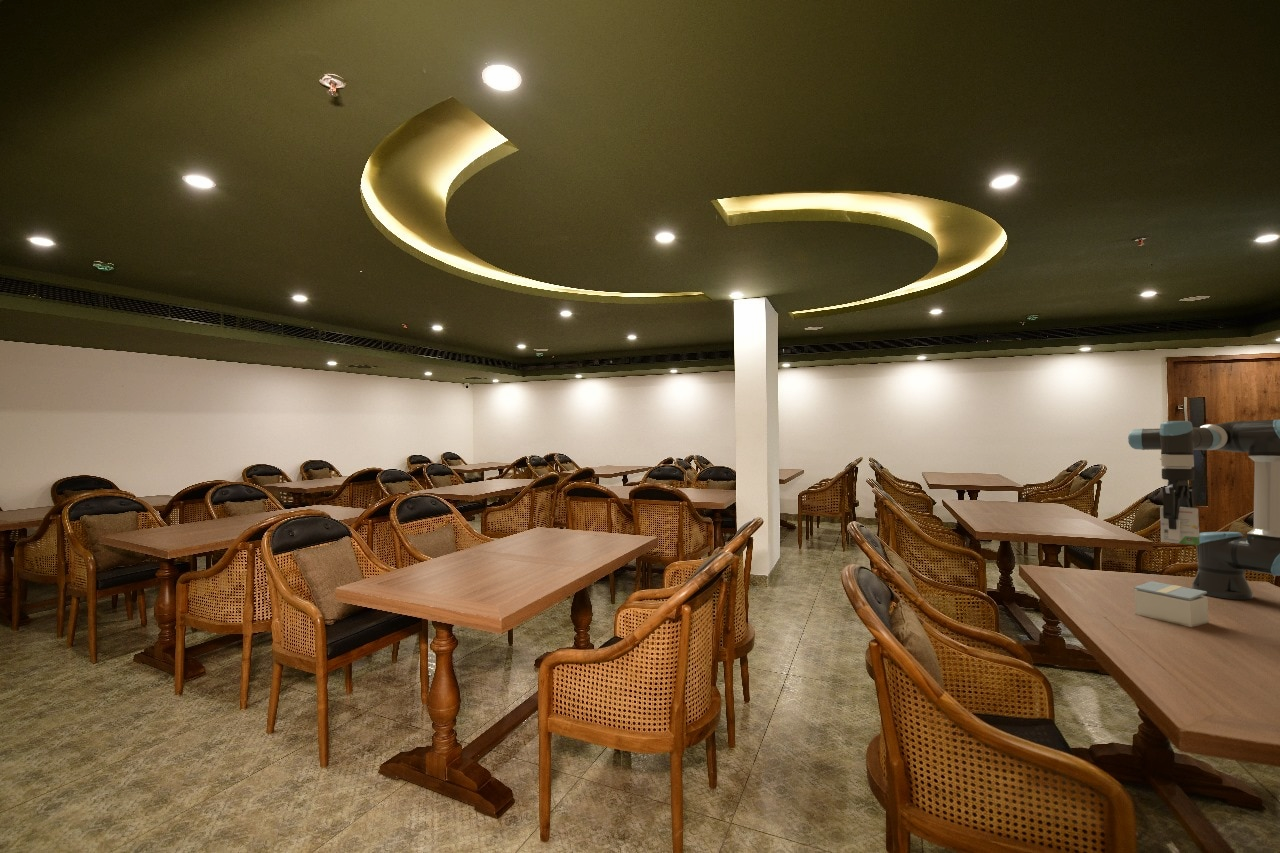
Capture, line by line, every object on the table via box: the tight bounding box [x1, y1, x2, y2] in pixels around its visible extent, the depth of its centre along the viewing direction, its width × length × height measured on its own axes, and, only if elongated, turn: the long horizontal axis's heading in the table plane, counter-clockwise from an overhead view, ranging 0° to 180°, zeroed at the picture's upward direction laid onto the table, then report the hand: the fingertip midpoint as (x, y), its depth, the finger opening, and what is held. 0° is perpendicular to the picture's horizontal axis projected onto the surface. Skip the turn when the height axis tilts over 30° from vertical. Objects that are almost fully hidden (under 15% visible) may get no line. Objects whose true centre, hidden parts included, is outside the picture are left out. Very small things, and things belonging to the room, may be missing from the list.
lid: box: [1133, 580, 1207, 600], centre depth 172 cm, size 10×14×1 cm
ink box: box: [1159, 505, 1200, 546], centre depth 172 cm, size 8×5×12 cm, turn 38°
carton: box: [1133, 589, 1210, 628], centre depth 172 cm, size 10×14×8 cm
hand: (1180, 538), depth 172 cm, fingers closed on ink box, 6 cm apart
